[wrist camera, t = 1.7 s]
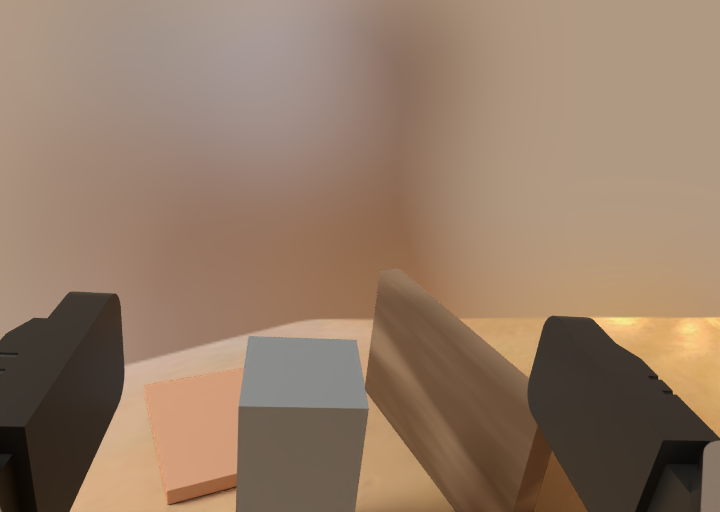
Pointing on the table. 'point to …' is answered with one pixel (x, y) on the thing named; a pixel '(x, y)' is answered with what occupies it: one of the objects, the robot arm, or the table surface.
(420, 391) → the walnut screen
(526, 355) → the table surface
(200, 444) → the terracotta tile
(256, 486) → the slate block
